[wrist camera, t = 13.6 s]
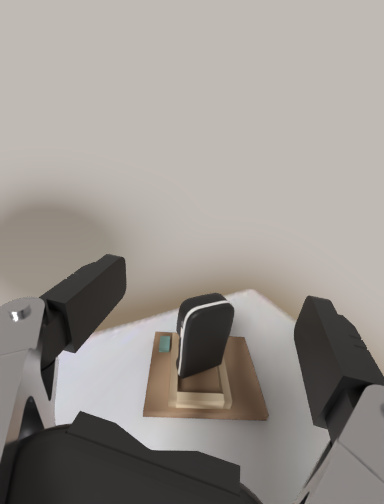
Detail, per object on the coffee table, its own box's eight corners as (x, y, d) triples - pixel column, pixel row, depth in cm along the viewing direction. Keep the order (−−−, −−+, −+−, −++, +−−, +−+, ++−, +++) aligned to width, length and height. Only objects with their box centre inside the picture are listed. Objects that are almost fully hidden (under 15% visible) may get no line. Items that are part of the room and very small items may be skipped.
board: (242, 342, 41) (246, 330, 40) (266, 420, 29) (271, 407, 28) (155, 336, 40) (155, 324, 39) (143, 416, 28) (143, 402, 27)
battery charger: (210, 345, 36) (222, 286, 31) (223, 365, 33) (239, 303, 28) (169, 358, 33) (176, 295, 28) (179, 382, 30) (189, 315, 25)
